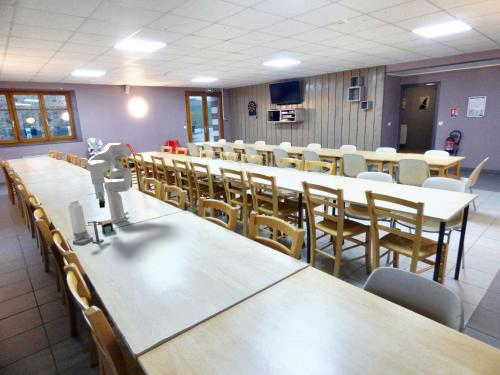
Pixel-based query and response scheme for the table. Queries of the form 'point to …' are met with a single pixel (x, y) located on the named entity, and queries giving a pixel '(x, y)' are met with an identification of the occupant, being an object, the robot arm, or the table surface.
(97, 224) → the balance beam
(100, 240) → the balance stand
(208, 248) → the table surface
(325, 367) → the table surface
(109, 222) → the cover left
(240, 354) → the table surface
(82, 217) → the milk
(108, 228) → the block
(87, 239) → the dish
